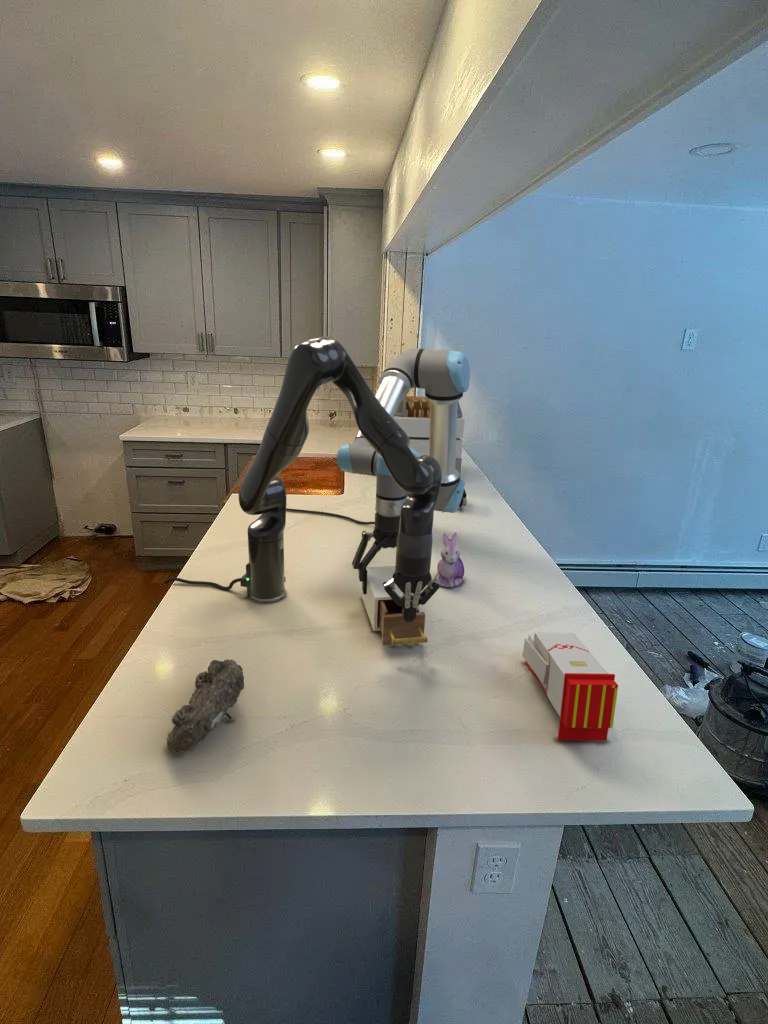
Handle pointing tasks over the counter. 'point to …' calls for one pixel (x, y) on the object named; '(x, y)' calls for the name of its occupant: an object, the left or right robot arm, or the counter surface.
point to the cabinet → (377, 591)
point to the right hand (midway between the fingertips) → (386, 590)
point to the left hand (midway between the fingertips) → (408, 620)
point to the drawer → (399, 625)
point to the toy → (573, 684)
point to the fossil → (206, 705)
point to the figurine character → (463, 500)
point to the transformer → (424, 425)
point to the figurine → (450, 563)
